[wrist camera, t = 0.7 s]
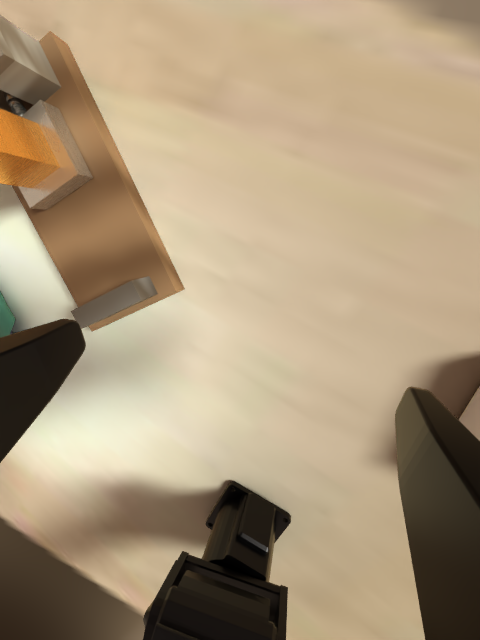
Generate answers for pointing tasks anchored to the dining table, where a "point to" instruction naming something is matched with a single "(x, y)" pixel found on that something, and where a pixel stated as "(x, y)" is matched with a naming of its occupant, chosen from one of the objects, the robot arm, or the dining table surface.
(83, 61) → the dining table surface
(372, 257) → the dining table surface
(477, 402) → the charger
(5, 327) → the cutlery set
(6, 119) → the orange wooden beam
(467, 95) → the dining table surface
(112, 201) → the brown piece
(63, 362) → the robot arm
